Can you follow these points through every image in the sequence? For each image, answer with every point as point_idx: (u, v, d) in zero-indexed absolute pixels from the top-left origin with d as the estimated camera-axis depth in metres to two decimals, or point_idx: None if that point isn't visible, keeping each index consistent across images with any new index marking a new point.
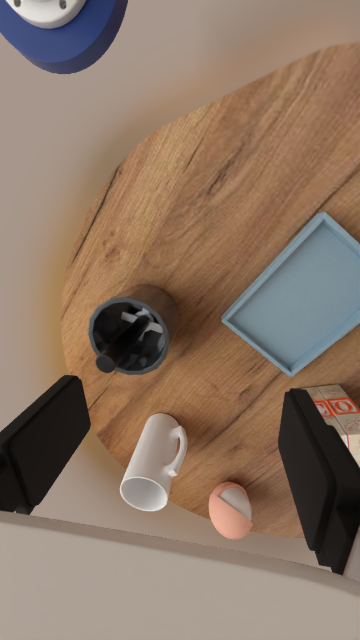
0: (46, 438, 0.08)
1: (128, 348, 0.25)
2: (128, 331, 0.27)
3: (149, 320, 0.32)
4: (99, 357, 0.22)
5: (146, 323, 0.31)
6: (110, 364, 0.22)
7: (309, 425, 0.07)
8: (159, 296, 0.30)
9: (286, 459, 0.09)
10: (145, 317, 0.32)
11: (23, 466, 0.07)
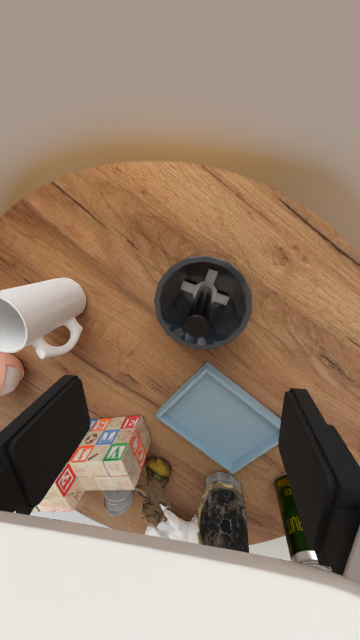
0: (46, 438, 0.08)
1: None
2: None
3: None
4: (205, 321, 0.18)
5: None
6: (196, 333, 0.18)
7: (309, 425, 0.07)
8: None
9: (286, 459, 0.09)
10: None
11: (23, 466, 0.07)
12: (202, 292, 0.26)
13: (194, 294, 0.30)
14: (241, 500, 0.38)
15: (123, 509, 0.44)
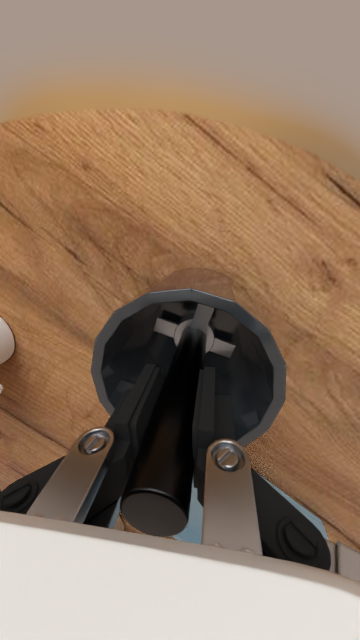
0: (147, 420, 0.09)
1: None
2: None
3: None
4: (177, 507, 0.06)
5: None
6: (154, 527, 0.06)
7: (201, 392, 0.09)
8: None
9: None
10: None
11: (138, 443, 0.08)
12: (186, 349, 0.14)
13: (176, 339, 0.18)
14: None
15: None
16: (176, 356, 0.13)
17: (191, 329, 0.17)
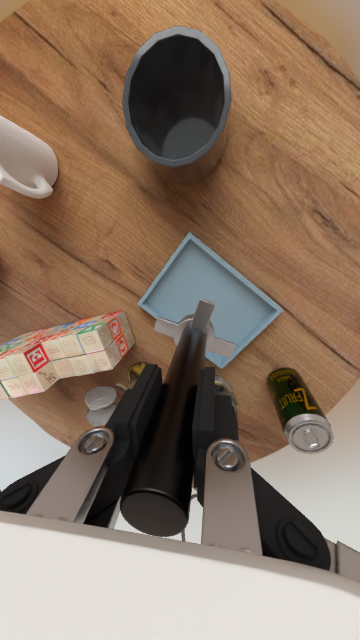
0: (147, 420, 0.09)
1: None
2: None
3: None
4: (177, 507, 0.06)
5: None
6: (154, 527, 0.06)
7: (201, 392, 0.09)
8: (218, 154, 0.26)
9: None
10: None
11: (138, 443, 0.08)
12: (186, 349, 0.14)
13: (176, 339, 0.18)
14: (231, 394, 0.36)
15: (106, 420, 0.41)
16: (176, 356, 0.13)
17: (191, 329, 0.17)
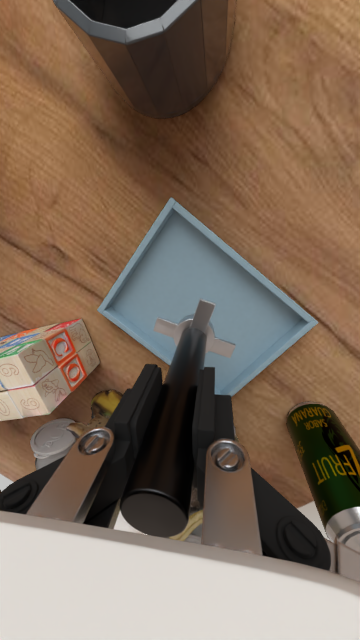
0: (147, 420, 0.09)
1: None
2: None
3: None
4: (177, 508, 0.06)
5: None
6: (154, 528, 0.06)
7: (201, 392, 0.09)
8: (218, 45, 0.14)
9: None
10: None
11: (138, 443, 0.08)
12: (186, 349, 0.14)
13: (176, 339, 0.18)
14: None
15: None
16: (176, 356, 0.13)
17: (191, 329, 0.17)
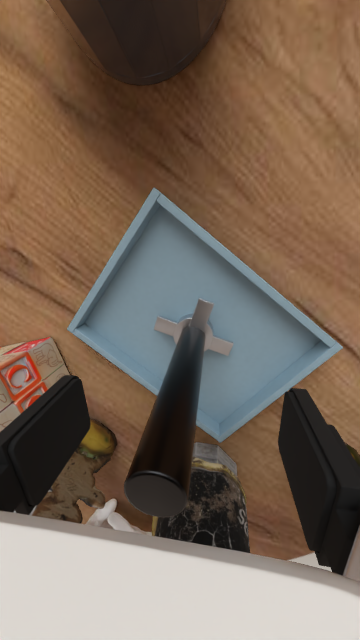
0: (46, 438, 0.08)
1: None
2: None
3: None
4: (177, 488, 0.07)
5: None
6: (156, 508, 0.07)
7: (309, 425, 0.07)
8: None
9: (286, 459, 0.09)
10: None
11: (23, 466, 0.07)
12: (185, 346, 0.14)
13: (176, 338, 0.18)
14: (237, 492, 0.20)
15: (32, 513, 0.25)
16: (176, 353, 0.14)
17: (190, 328, 0.17)
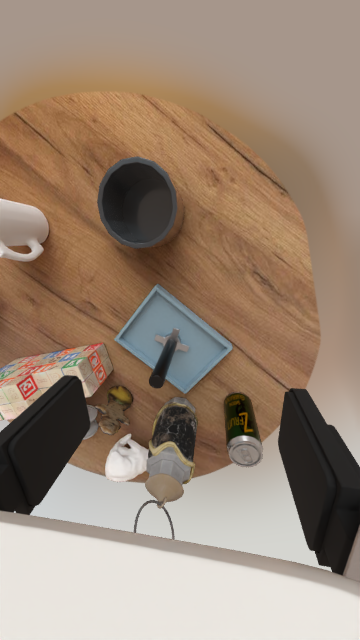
0: (46, 438, 0.08)
1: None
2: None
3: None
4: (161, 379, 0.29)
5: None
6: (156, 385, 0.30)
7: (309, 425, 0.07)
8: (175, 232, 0.33)
9: (286, 459, 0.09)
10: (175, 347, 0.40)
11: (23, 466, 0.07)
12: (167, 347, 0.37)
13: (164, 344, 0.41)
14: (192, 415, 0.43)
15: (88, 436, 0.47)
16: (163, 350, 0.36)
17: (170, 339, 0.40)
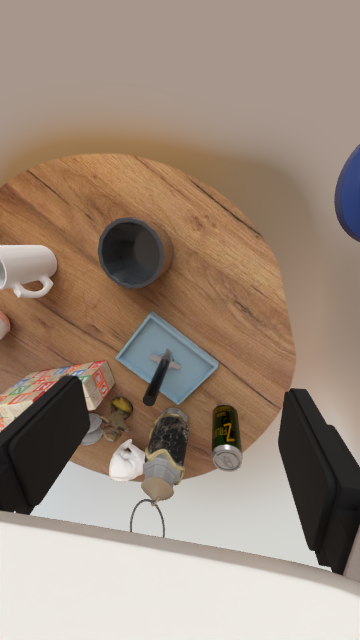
0: (46, 438, 0.08)
1: None
2: None
3: None
4: (152, 399, 0.35)
5: None
6: (148, 404, 0.35)
7: (309, 425, 0.07)
8: (164, 270, 0.38)
9: (286, 459, 0.09)
10: (168, 365, 0.46)
11: (23, 466, 0.07)
12: (160, 367, 0.43)
13: (158, 362, 0.47)
14: (184, 424, 0.48)
15: (93, 441, 0.54)
16: (156, 370, 0.42)
17: (163, 359, 0.46)
